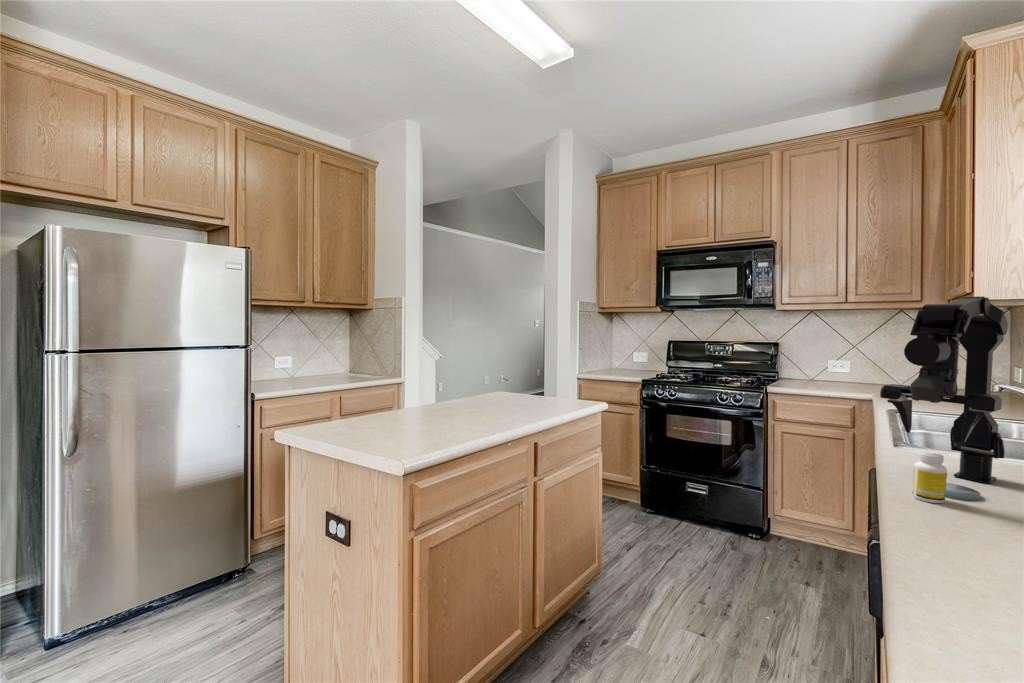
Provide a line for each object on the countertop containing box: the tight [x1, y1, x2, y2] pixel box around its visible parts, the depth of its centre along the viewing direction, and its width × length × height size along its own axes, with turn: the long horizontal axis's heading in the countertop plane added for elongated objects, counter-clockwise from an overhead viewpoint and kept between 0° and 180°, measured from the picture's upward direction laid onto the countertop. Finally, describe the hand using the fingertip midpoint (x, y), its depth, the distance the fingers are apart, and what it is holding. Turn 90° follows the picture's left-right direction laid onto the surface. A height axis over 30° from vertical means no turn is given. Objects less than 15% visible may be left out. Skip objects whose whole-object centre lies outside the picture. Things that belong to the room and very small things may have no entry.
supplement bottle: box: [911, 451, 948, 504], centre depth 106 cm, size 5×5×10 cm
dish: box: [945, 482, 981, 502], centre depth 110 cm, size 9×9×1 cm
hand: (934, 437), depth 105 cm, fingers open, 9 cm apart
